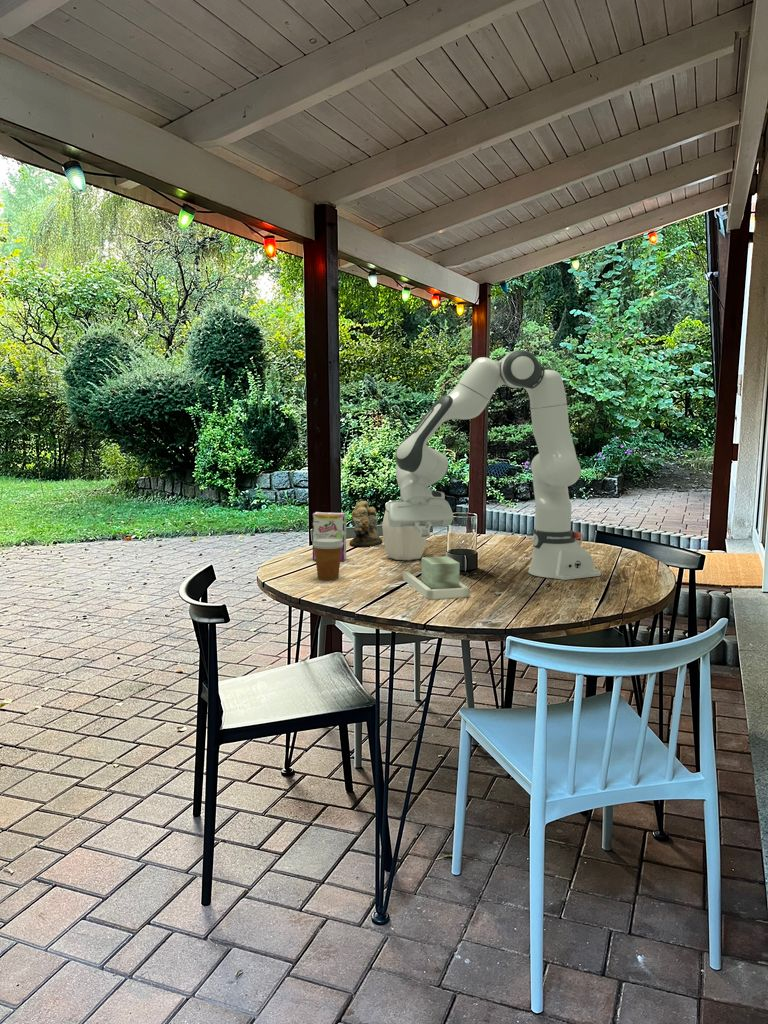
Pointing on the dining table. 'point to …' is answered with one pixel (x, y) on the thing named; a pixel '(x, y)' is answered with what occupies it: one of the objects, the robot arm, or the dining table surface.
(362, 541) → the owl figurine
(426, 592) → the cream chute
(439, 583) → the sage block
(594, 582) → the dining table surface
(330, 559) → the disposable coffee cup
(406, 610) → the dining table surface
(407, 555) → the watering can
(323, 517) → the candy bar box
